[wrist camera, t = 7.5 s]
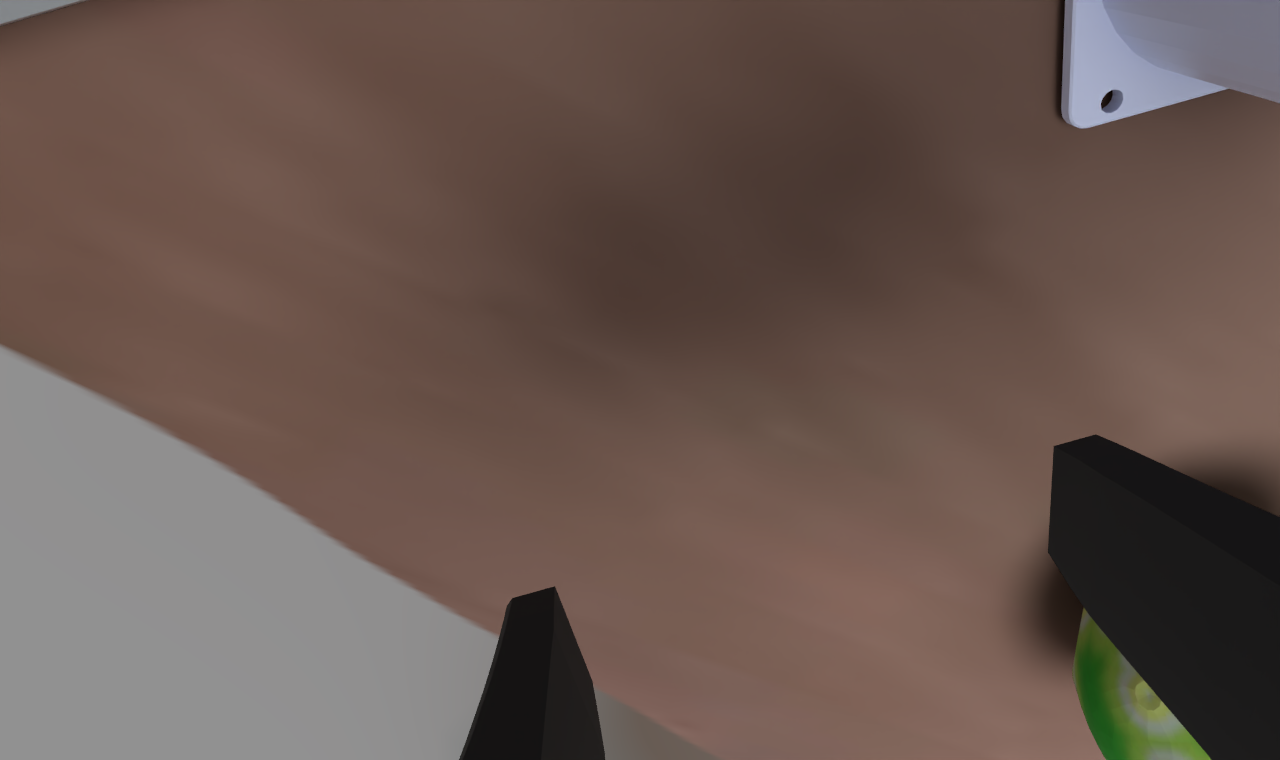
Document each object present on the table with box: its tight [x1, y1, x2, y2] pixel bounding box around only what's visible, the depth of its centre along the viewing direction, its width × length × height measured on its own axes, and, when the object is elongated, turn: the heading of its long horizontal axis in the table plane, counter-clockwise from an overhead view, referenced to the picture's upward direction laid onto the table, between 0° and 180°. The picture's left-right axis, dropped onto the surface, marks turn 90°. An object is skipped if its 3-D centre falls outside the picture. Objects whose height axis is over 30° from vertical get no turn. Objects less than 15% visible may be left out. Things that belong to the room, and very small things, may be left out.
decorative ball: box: [1072, 608, 1211, 760], centre depth 24 cm, size 10×10×10 cm
